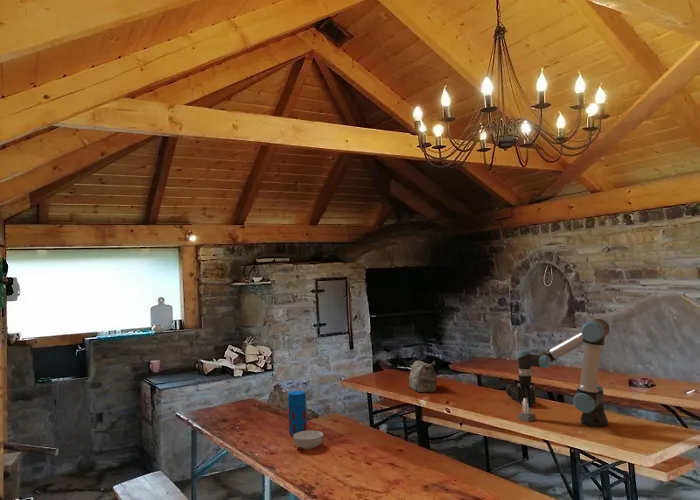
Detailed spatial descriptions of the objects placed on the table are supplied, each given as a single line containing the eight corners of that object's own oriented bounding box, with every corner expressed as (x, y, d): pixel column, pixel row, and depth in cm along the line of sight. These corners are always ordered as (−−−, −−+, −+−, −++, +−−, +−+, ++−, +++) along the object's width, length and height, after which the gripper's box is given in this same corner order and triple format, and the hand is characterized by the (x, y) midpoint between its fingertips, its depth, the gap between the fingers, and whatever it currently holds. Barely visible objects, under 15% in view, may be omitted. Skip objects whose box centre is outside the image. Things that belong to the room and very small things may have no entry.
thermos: (304, 430, 322) (302, 389, 323) (309, 434, 312) (307, 393, 313) (287, 432, 318) (286, 392, 319) (291, 437, 308) (290, 395, 309)
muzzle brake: (523, 408, 351) (522, 392, 352) (505, 398, 379) (504, 384, 379) (536, 407, 353) (535, 391, 353) (517, 397, 380) (516, 383, 381)
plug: (531, 419, 325) (530, 398, 326) (527, 420, 323) (526, 399, 324) (526, 417, 328) (525, 397, 329) (523, 419, 326) (521, 398, 327)
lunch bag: (439, 392, 405) (438, 364, 406) (417, 393, 402) (416, 365, 403) (428, 384, 431) (427, 358, 432) (408, 386, 427) (406, 360, 428)
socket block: (535, 419, 325) (535, 414, 325) (528, 421, 321) (527, 416, 321) (526, 416, 331) (525, 412, 331) (518, 419, 327) (518, 414, 327)
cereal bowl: (329, 446, 290) (329, 433, 290) (306, 454, 278) (306, 441, 279) (310, 440, 302) (310, 427, 303) (287, 447, 291) (287, 435, 291)
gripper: (510, 373, 331) (512, 410, 331) (531, 377, 318) (533, 416, 317) (518, 372, 336) (520, 408, 335) (539, 376, 322) (541, 413, 321)
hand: (526, 412), depth 326 cm, fingers closed on plug, 3 cm apart
